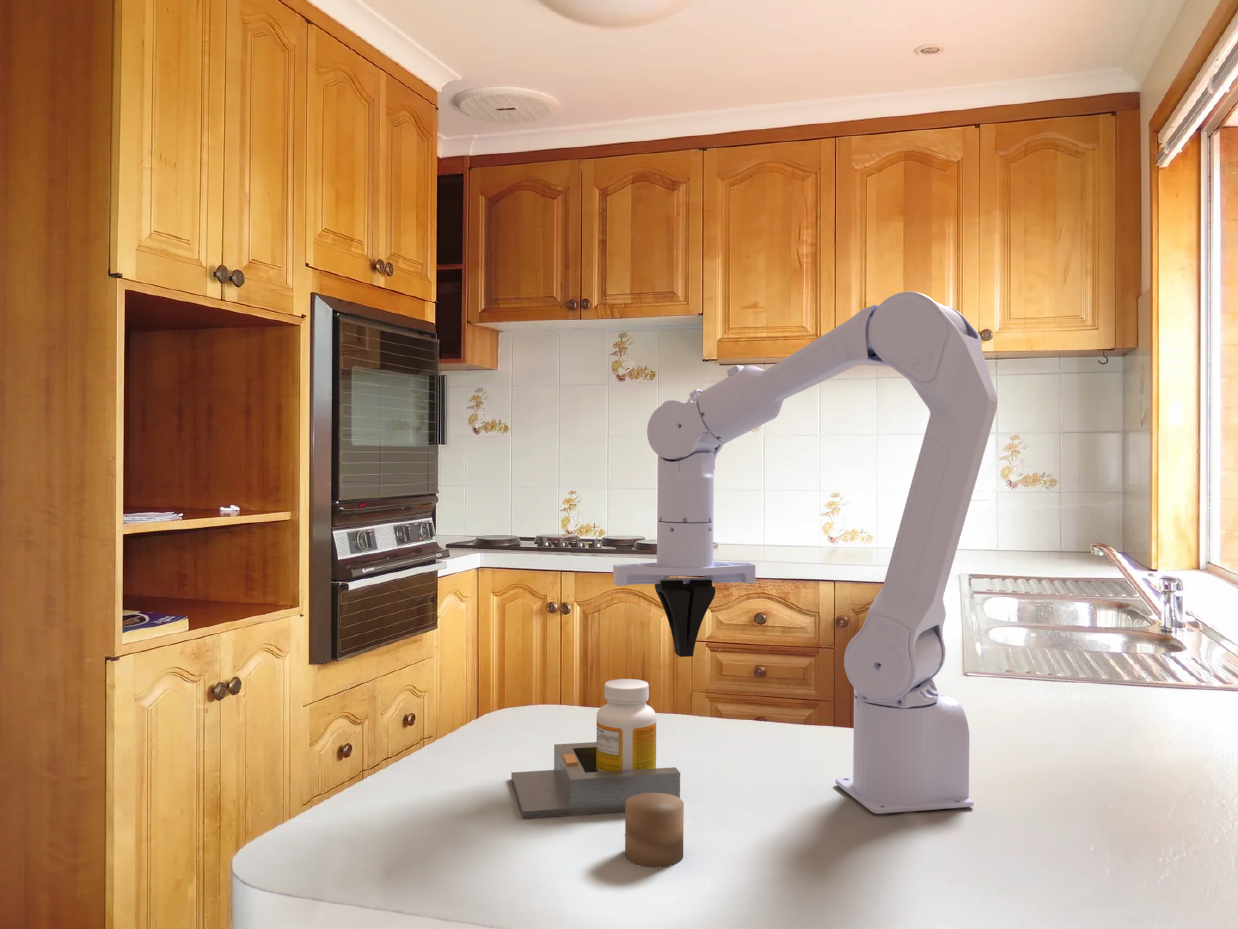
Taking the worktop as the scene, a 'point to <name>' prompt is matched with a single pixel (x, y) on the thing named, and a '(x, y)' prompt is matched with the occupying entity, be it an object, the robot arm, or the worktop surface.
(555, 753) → the socket
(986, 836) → the worktop surface
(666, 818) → the knob
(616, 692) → the supplement bottle
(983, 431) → the robot arm
